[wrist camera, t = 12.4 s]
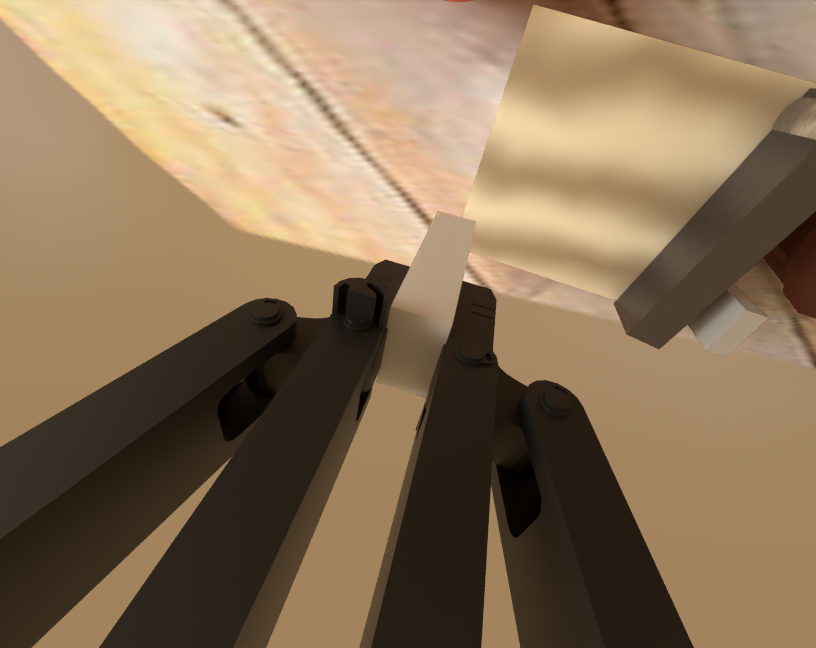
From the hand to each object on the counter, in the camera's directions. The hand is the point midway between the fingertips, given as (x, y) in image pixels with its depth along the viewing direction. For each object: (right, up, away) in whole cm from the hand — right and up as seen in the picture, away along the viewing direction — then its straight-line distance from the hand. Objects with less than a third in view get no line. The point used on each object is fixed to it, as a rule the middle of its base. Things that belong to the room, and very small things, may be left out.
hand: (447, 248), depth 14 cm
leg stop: (+24, 0, +17) cm, 30 cm away
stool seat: (+17, +11, +19) cm, 28 cm away
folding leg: (+22, +5, +14) cm, 27 cm away
